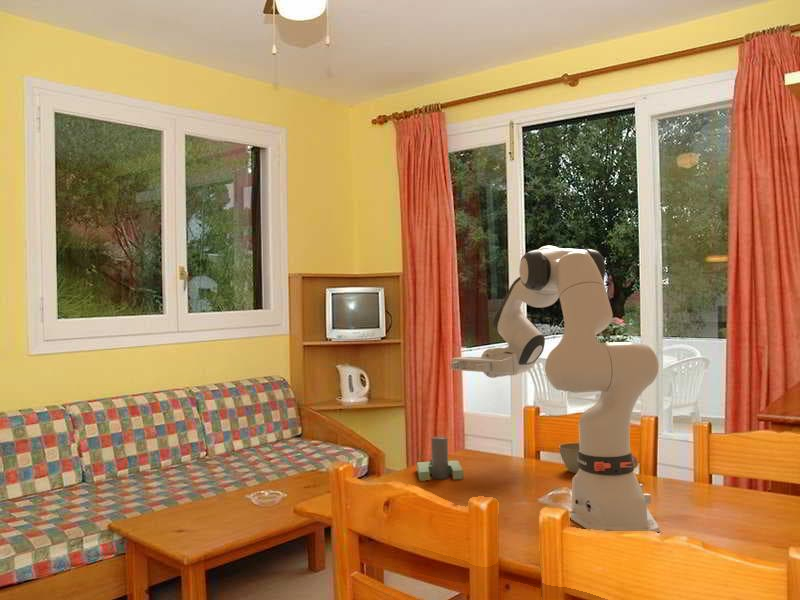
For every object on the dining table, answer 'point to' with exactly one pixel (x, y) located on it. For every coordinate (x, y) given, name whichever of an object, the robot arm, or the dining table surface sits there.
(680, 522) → the dining table surface
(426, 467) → the green footed base
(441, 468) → the grey tall cylinder
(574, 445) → the flower pot
